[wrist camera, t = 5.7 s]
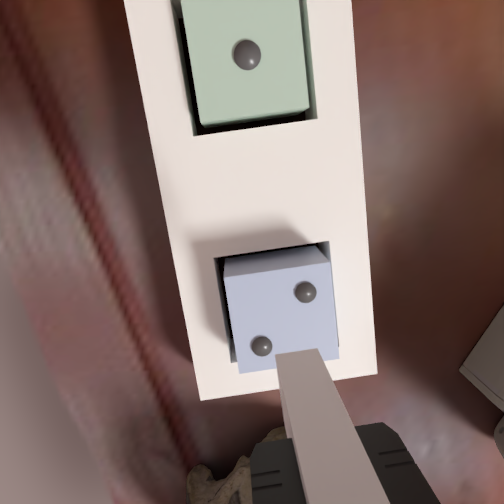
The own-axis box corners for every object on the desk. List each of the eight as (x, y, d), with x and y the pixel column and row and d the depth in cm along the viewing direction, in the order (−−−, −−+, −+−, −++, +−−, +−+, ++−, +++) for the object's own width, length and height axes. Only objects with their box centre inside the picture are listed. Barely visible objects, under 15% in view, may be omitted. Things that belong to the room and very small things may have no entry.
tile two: (224, 258, 22) (223, 278, 18) (314, 245, 22) (330, 262, 18) (238, 341, 23) (239, 375, 19) (323, 328, 23) (340, 359, 20)
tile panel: (72, -336, 17) (39, -438, 14) (303, -364, 17) (318, -470, 14) (204, 372, 25) (200, 400, 22) (360, 348, 25) (377, 373, 22)
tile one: (189, 26, 20) (180, -2, 17) (286, 13, 20) (297, -17, 17) (205, 128, 22) (200, 122, 18) (296, 115, 22) (309, 107, 18)
